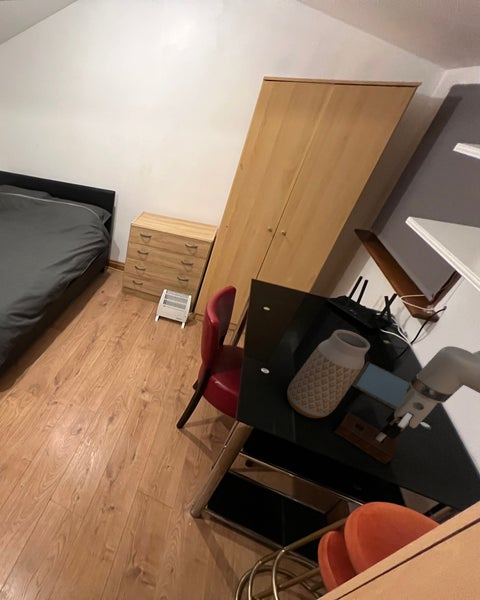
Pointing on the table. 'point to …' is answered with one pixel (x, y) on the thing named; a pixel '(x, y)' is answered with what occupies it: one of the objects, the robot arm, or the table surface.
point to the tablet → (381, 385)
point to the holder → (367, 438)
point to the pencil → (381, 435)
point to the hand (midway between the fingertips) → (389, 428)
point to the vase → (328, 374)
